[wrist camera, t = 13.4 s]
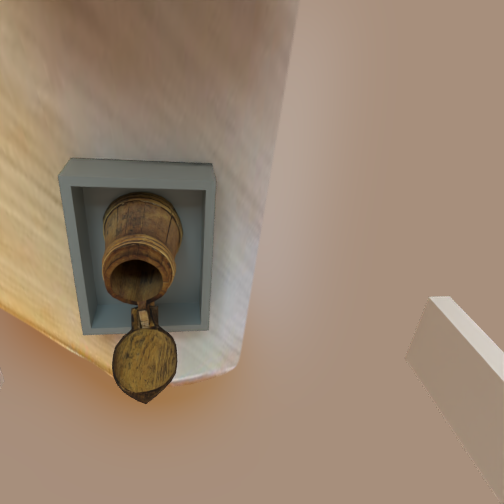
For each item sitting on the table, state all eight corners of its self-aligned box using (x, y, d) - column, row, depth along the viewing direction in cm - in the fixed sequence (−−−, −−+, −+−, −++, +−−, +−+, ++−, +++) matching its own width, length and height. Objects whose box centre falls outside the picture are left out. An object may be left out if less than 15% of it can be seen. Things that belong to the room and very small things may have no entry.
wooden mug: (119, 292, 51) (94, 413, 35) (95, 194, 44) (52, 292, 28) (189, 285, 52) (195, 398, 37) (177, 188, 45) (178, 279, 30)
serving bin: (70, 157, 42) (57, 175, 37) (212, 163, 45) (216, 181, 40) (91, 306, 52) (83, 335, 48) (205, 303, 55) (208, 330, 50)
